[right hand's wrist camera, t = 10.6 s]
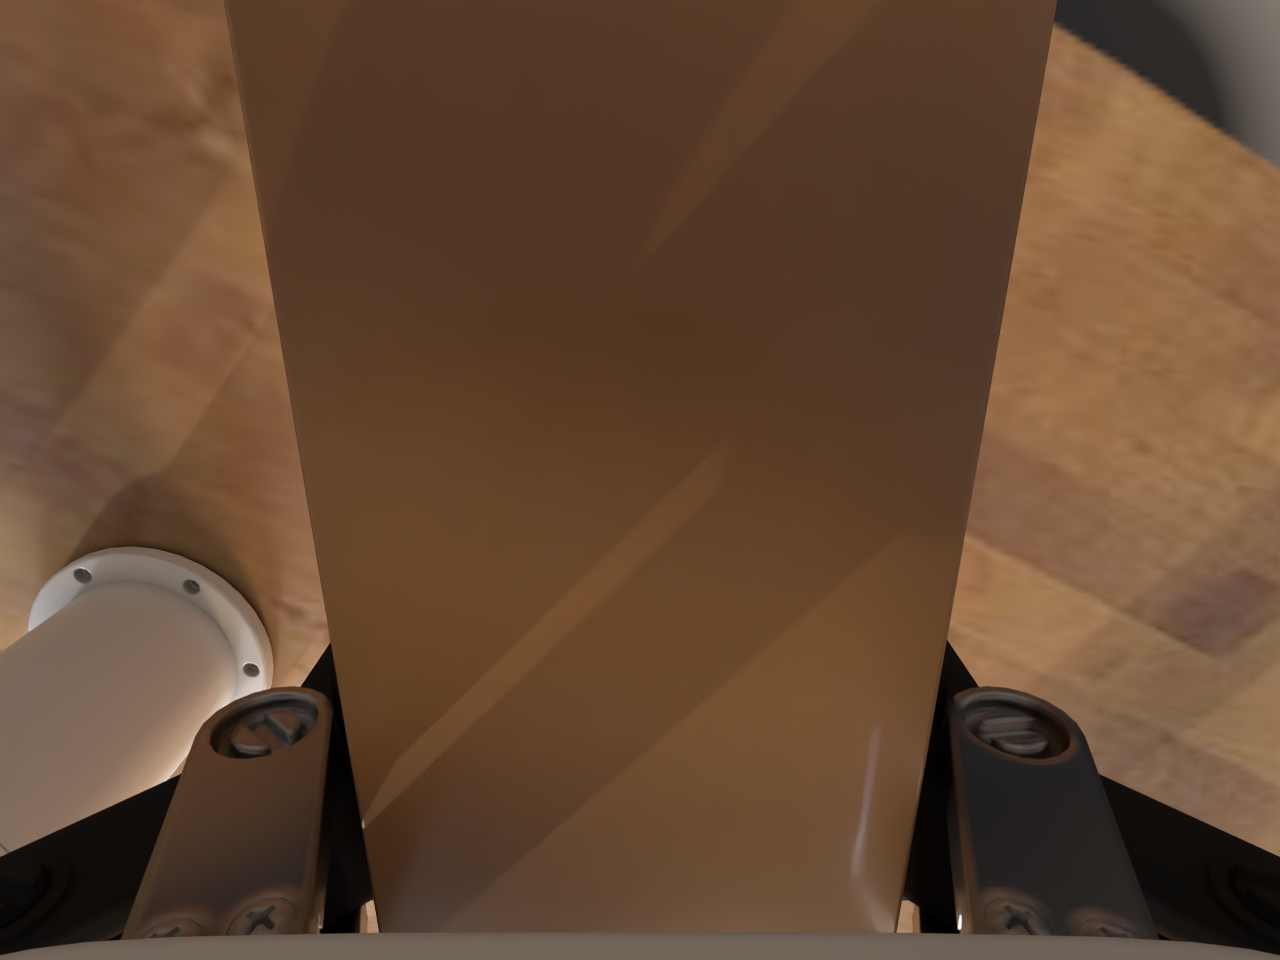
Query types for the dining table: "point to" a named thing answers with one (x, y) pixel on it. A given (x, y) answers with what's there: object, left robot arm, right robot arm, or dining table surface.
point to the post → (639, 429)
